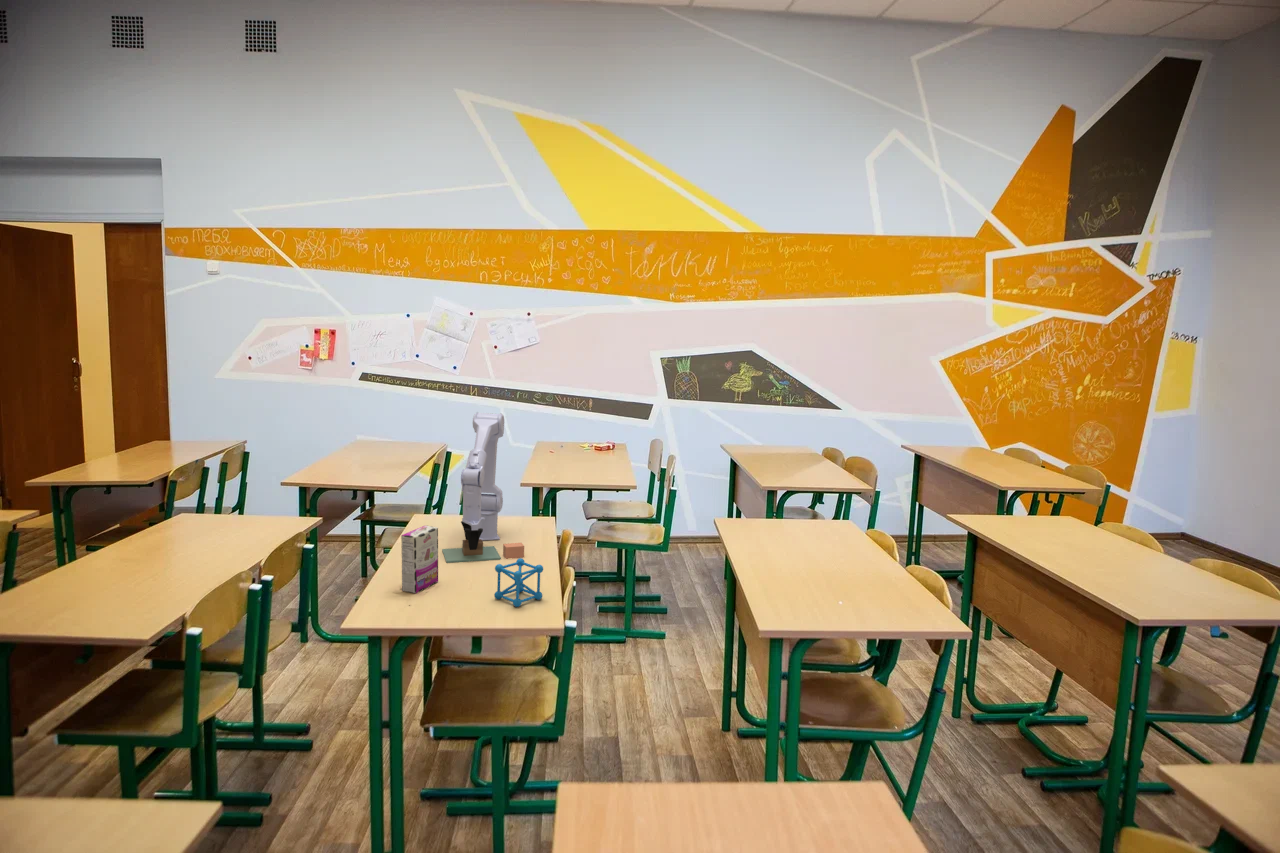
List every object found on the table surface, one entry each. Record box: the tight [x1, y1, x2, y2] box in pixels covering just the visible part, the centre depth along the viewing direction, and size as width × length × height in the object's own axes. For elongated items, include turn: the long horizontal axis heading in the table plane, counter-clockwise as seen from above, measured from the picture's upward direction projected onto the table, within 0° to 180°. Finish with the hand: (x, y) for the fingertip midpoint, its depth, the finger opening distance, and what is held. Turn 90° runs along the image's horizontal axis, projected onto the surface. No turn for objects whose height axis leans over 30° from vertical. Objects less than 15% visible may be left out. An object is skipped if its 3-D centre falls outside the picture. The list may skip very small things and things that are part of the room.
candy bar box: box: [400, 525, 439, 594], centre depth 215 cm, size 11×5×16 cm, turn 161°
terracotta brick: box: [502, 542, 525, 560], centre depth 248 cm, size 4×6×4 cm, turn 112°
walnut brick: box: [461, 539, 484, 556], centre depth 247 cm, size 4×6×4 cm, turn 110°
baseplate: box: [441, 545, 502, 564], centre depth 247 cm, size 13×17×1 cm
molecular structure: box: [493, 558, 544, 608], centre depth 210 cm, size 10×10×10 cm
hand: (471, 546), depth 247 cm, fingers open, 7 cm apart
